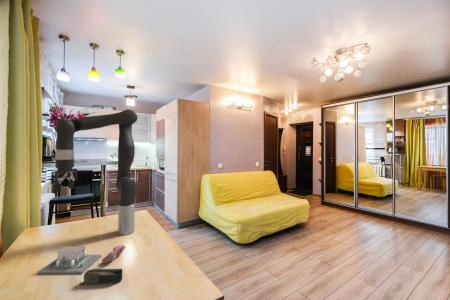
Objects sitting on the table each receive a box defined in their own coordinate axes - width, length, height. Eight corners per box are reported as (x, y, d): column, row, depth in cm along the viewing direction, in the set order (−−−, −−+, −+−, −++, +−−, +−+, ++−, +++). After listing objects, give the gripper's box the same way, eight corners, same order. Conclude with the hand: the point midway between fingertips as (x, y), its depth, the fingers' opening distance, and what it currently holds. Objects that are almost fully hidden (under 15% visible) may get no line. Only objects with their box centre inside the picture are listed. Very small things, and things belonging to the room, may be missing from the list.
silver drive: (64, 259, 90) (64, 246, 90) (85, 259, 91) (85, 246, 91) (57, 264, 86) (57, 251, 86) (78, 264, 87) (78, 250, 87)
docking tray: (62, 256, 95) (62, 248, 95) (101, 256, 95) (101, 248, 95) (37, 274, 82) (37, 264, 82) (82, 273, 82) (82, 264, 82)
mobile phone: (123, 266, 80) (82, 268, 78) (120, 271, 77) (78, 273, 75) (122, 279, 80) (82, 281, 78) (120, 284, 77) (77, 286, 75)
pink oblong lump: (108, 268, 89) (114, 255, 88) (100, 263, 89) (106, 249, 89) (122, 256, 99) (128, 244, 98) (115, 251, 99) (121, 239, 99)
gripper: (61, 159, 95) (61, 193, 95) (82, 157, 110) (82, 187, 110) (45, 159, 95) (45, 193, 95) (68, 157, 109) (68, 187, 110)
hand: (65, 190), depth 102 cm, fingers open, 8 cm apart
